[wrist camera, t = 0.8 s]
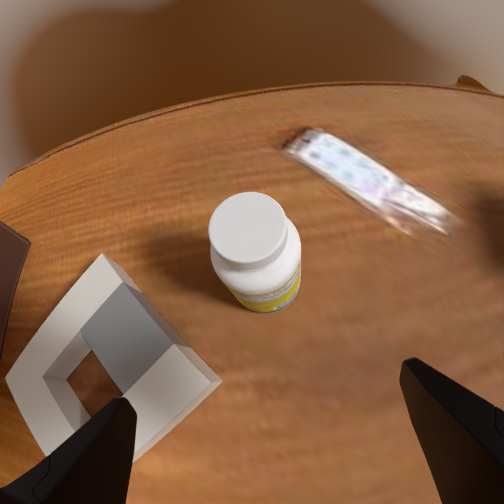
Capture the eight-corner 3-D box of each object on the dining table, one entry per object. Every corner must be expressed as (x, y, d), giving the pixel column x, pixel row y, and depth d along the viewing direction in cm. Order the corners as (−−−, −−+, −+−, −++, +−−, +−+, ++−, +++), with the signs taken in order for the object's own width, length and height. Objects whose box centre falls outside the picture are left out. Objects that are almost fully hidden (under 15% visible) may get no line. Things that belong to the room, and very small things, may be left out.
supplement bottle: (237, 249, 25) (206, 179, 16) (302, 252, 24) (304, 180, 15) (228, 312, 23) (185, 271, 14) (297, 317, 22) (300, 280, 13)
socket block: (223, 381, 21) (210, 382, 18) (98, 490, 17) (76, 499, 14) (121, 267, 26) (101, 253, 23) (27, 381, 22) (5, 378, 19)
